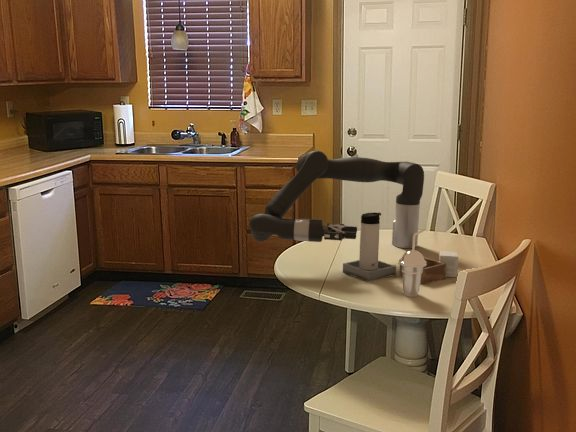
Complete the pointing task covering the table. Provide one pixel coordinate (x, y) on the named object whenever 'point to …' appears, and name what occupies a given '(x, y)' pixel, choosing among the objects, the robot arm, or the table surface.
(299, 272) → the table surface
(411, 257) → the cup with straw
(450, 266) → the product box
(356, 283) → the table surface
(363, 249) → the travel mug
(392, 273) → the slate tray
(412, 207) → the robot arm
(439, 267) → the walnut holder
